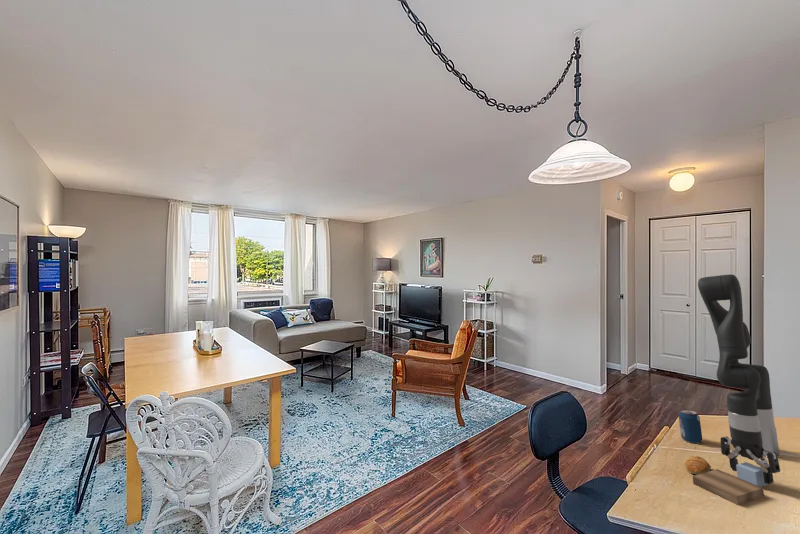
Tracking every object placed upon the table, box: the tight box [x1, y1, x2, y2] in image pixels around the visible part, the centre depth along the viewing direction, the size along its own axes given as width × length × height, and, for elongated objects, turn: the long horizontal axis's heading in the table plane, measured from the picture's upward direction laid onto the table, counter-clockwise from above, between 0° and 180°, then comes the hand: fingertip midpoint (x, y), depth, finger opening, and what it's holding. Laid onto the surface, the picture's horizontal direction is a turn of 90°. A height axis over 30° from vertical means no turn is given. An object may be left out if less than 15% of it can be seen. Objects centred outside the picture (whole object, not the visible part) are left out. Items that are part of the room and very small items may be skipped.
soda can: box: [678, 408, 703, 444], centre depth 143 cm, size 7×7×12 cm
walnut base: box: [692, 468, 765, 506], centre depth 108 cm, size 12×12×3 cm
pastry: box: [684, 455, 712, 475], centre depth 120 cm, size 9×7×4 cm
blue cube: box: [736, 461, 768, 488], centre depth 111 cm, size 5×5×5 cm
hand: (751, 476), depth 111 cm, fingers open, 8 cm apart
